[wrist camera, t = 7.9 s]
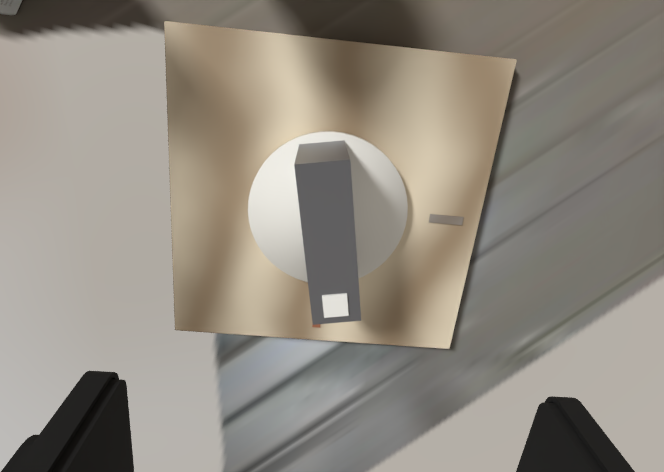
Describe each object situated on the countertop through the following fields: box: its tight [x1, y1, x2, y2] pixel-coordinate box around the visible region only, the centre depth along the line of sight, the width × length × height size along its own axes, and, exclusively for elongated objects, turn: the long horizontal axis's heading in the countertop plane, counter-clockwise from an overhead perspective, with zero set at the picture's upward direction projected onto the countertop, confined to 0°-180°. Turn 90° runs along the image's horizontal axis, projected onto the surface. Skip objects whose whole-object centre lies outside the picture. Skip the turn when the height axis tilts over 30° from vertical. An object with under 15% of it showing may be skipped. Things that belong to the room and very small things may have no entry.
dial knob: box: [248, 131, 408, 325], centre depth 23 cm, size 9×9×6 cm
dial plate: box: [164, 21, 517, 349], centre depth 26 cm, size 18×18×1 cm
